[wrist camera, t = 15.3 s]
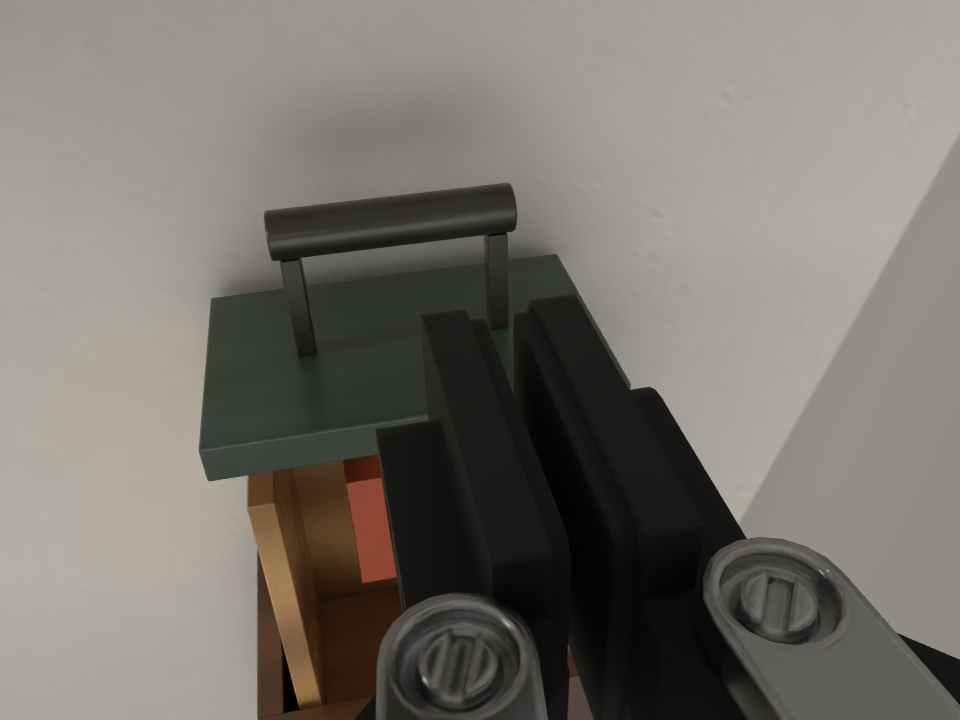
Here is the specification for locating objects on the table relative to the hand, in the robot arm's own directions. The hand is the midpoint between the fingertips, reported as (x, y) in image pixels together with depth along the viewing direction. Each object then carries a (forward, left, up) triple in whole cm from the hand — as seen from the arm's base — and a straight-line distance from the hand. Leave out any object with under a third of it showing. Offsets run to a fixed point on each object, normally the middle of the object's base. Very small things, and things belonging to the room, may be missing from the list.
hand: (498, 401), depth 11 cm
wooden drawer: (+14, 0, -18) cm, 23 cm away
